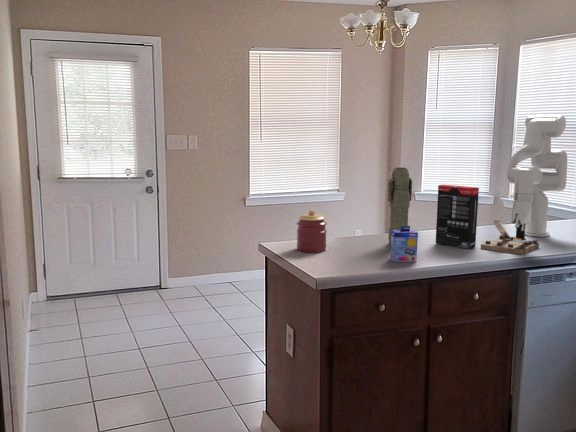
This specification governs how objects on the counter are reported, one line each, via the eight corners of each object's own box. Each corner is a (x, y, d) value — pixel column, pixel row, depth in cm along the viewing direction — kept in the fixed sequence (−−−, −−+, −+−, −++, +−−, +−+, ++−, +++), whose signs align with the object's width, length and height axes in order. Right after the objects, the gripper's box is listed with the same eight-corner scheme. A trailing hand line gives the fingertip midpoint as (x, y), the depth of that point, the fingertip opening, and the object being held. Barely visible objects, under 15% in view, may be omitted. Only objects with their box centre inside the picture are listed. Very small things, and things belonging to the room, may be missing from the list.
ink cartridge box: (393, 262, 224) (394, 226, 222) (389, 259, 229) (390, 224, 227) (417, 262, 225) (418, 226, 222) (413, 258, 230) (414, 223, 228)
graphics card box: (476, 247, 252) (480, 186, 248) (469, 249, 247) (473, 187, 243) (441, 242, 264) (444, 183, 259) (434, 244, 259) (437, 184, 254)
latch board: (499, 241, 264) (499, 234, 263) (538, 247, 252) (539, 239, 251) (480, 248, 249) (481, 240, 249) (521, 254, 237) (522, 246, 237)
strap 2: (526, 241, 253) (526, 238, 253) (532, 242, 251) (533, 239, 251) (512, 241, 242) (513, 237, 242) (519, 241, 240) (520, 238, 240)
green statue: (381, 244, 258) (383, 167, 252) (401, 241, 264) (403, 166, 258) (394, 247, 250) (397, 169, 245) (414, 245, 256) (417, 168, 251)
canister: (292, 251, 243) (292, 211, 240) (302, 245, 255) (302, 207, 252) (321, 254, 238) (321, 212, 236) (329, 247, 250) (330, 208, 248)
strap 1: (504, 238, 260) (504, 236, 261) (510, 239, 258) (511, 237, 259) (493, 222, 249) (494, 220, 250) (500, 223, 247) (501, 220, 248)
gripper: (520, 195, 249) (517, 236, 251) (507, 197, 238) (504, 240, 240) (538, 196, 244) (535, 238, 246) (525, 199, 233) (522, 243, 235)
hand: (520, 239), depth 243 cm, fingers closed
